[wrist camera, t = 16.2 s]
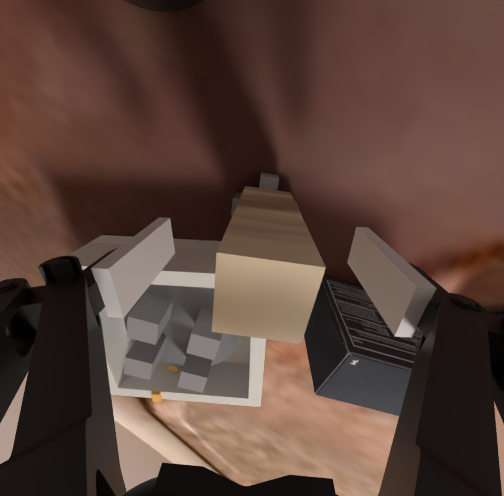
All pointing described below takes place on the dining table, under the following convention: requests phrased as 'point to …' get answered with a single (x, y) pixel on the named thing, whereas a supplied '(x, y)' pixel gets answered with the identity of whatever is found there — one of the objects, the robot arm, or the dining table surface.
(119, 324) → the white open square box
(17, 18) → the dining table surface
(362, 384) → the small box
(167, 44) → the dining table surface
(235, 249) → the long wooden block
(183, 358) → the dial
